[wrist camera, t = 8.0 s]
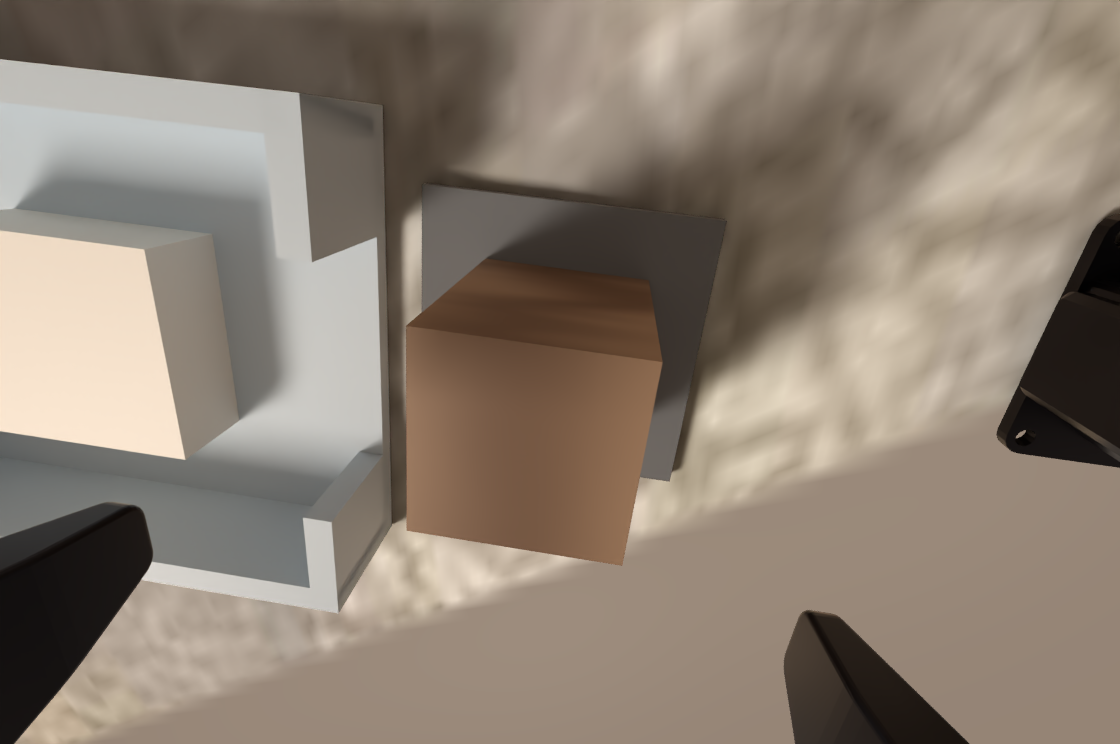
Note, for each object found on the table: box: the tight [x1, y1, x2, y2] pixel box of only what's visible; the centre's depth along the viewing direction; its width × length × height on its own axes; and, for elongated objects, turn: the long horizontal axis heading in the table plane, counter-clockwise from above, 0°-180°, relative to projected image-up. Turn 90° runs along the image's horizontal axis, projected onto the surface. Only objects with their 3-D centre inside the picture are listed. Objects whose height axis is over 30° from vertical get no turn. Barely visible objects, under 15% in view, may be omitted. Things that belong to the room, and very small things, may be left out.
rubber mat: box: [422, 183, 727, 482], centre depth 16 cm, size 8×8×1 cm
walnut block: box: [406, 259, 663, 566], centre depth 13 cm, size 4×4×6 cm
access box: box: [0, 59, 392, 613], centre depth 16 cm, size 16×14×4 cm
